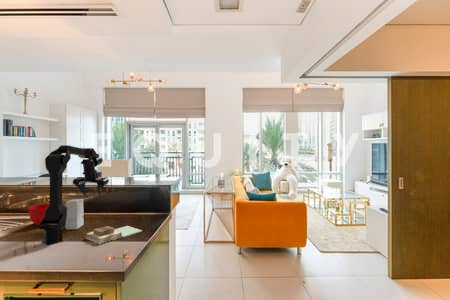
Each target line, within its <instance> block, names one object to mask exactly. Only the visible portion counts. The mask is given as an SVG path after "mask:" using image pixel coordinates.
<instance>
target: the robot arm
mask: <svg viewBox="0 0 450 300" xmlns="http://www.w3.org/2000/svg"><path fill="white" fill-rule="evenodd" d="M72 155H74V156H78V158H81V159H82V161H81V162H80V164H81V165H82V166H83V172H82V175H84V176H77V177H76V178H74V179H73V180H72V185H74V186H75V187H77V188H78V190H80V191H81V193H82V194H83V195H84V196H85V195H87V190H86V183H90V184H91V183H92V184H96V188H97V192H98V195H99V196H102V193H103V189H104V186H106V184H108V183H109V182H110V179H109V178H108V177H102V171H97V169H96V167H98V166H99V165H101V164H102V163H103V157H101V156H100V154H99V153H97V152H96V150H95V149H94V148H93V147H77V146H72V145H70V144H68V145H67V144H66V145H65V144H62V145H59V146H58V147H57V148H56V149H55V150H53V151H51V152H49V154H48V155H47V156H46V157H45V158H44V163H45V165H44V166H45V170H46V171H47V172H48V174H49V200H48V201H49V203H48V204H49V206H48V208H47V209H46V211H45V216H44V218H43V220H42V221H41V223H40V225H39V226H38V227H39V230H42V231H43V237H42V238H43V240H41V243H42V244H44V245H46V246H49V245H54V244H56V243H60V242H63V241H64V239H63V234H64V233H63V228H66V219H67V207H66V206H64V205H63V174H64V172H65V170H66V169H67V167H68V163H69V161H70V160H71V156H72Z"/></svg>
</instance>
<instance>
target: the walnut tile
mask: <svg viewBox="0 0 450 300" xmlns="http://www.w3.org/2000/svg"><path fill="white" fill-rule="evenodd" d="M114 229H115V227H112V226H109V225H106V226H105V225H104V226H102V227H97V228H93V231H92V232H93V234H96V235H98V236H103V235H106V234H110V233H113V232H114Z"/></svg>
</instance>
